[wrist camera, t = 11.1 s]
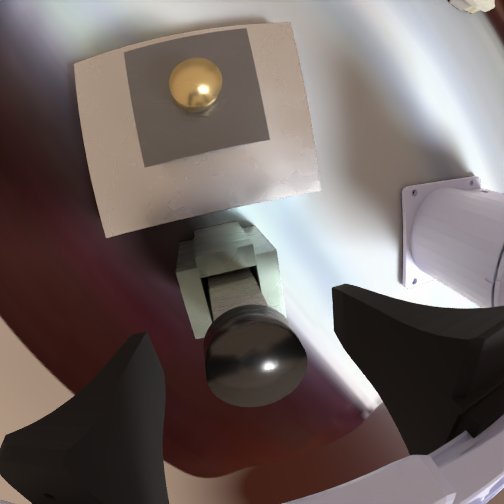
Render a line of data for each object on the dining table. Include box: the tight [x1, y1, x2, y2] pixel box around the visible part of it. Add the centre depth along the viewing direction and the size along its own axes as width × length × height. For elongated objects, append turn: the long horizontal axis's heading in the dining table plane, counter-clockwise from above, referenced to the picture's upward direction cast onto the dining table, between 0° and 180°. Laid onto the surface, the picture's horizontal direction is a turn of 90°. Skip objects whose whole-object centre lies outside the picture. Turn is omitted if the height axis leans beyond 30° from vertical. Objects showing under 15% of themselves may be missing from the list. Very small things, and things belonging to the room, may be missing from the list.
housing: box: [124, 28, 270, 167], centre depth 11 cm, size 4×4×6 cm
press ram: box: [204, 267, 307, 407], centre depth 13 cm, size 3×3×8 cm
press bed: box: [74, 23, 321, 339], centre depth 15 cm, size 12×16×5 cm
